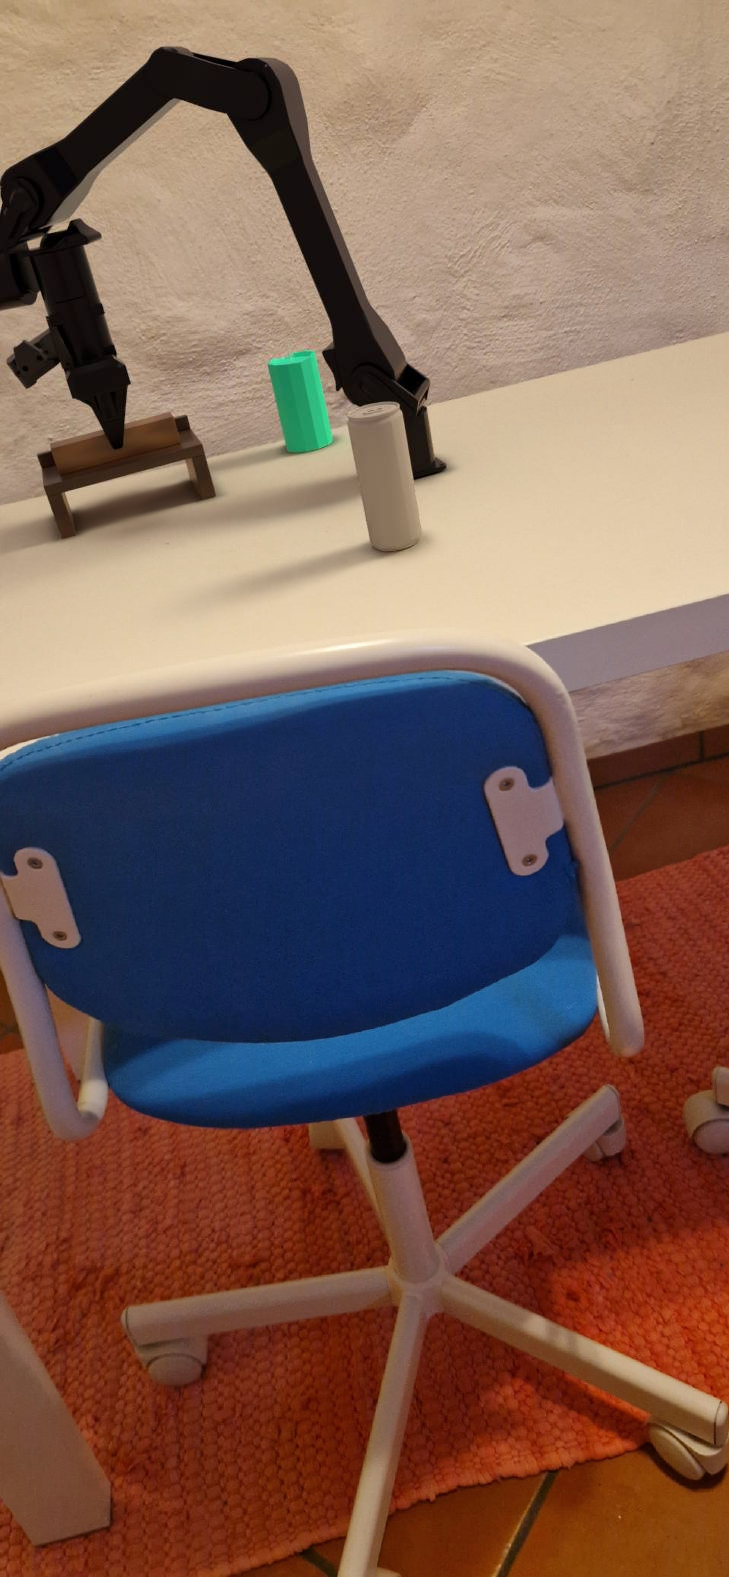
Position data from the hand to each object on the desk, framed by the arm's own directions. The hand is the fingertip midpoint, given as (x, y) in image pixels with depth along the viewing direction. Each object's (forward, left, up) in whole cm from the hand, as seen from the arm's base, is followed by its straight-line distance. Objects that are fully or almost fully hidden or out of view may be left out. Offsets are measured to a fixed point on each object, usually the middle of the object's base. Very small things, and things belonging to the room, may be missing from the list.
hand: (117, 445), depth 120 cm
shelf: (+1, 0, -7) cm, 7 cm away
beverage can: (-35, -21, -7) cm, 42 cm away
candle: (+7, -23, -7) cm, 25 cm away
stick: (0, 0, -1) cm, 1 cm away
